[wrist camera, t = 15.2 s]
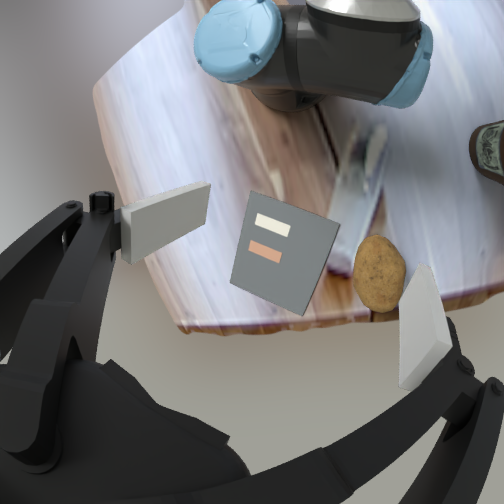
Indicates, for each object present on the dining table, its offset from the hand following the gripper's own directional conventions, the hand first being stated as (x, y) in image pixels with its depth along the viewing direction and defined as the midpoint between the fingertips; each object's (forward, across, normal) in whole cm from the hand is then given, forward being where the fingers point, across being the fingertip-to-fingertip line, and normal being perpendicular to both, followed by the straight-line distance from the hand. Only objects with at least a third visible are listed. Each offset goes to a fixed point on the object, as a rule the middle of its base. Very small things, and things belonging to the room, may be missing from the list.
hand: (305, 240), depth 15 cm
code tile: (+34, -9, -20) cm, 41 cm away
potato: (+34, +10, -14) cm, 38 cm away
